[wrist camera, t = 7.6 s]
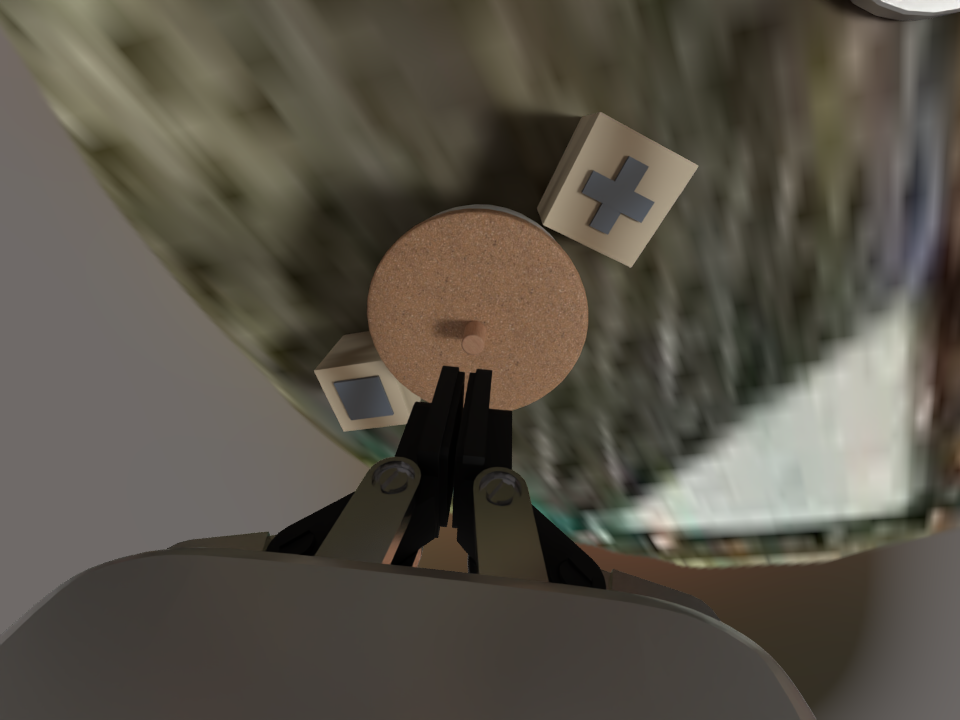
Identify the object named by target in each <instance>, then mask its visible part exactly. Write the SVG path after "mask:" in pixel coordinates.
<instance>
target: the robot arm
mask: <svg viewBox="0 0 960 720" xmlns="http://www.w3.org/2000/svg"><path fill="white" fill-rule="evenodd" d="M850 1H851V2H852V3H853V4H855V5H857V6H858V7H860V8H862V9H864V10H866V11H868V12H870V13H872V14H873V15H875V16H880V17H885V18H890V19H895V20H900V21H905V20H923V19H932V18H936V17H940V16H944V15H948V14H952V13H956V12H960V0H850ZM491 381H492V370H485V369H476V373H472V372H470V374H469V380H468V385H467V391H466V396H465V402H464V385H465V372H461V371H459V367H453V366H443V367H442V370H441V373H440V376H439V380H438V383H437V386H436V390H435V393H434V396H433V400H432V403H427V402H417V401H416V402H415V403H414V405H413V408H412V411H411V413H410V416H409V419H408V422H407V424H406V427H405V430H404V433H403V435H402V438H401V441H400V444H399V446H398V449H397V452H396V455H395V457H389V458H386V459H383V460H380V461H379V462H377V463H376V464H374V465H373V466H372V467H371V468H370V469H369V471H368V472H367V474H366V475H365V477H364V478H363V480H362V481H361V483H360V485H359V486H358V488H357V489H356V491H355V492H353V493H351V494H349V495H347V496H345V497H343V498H341V499H340V500H338V501H336V502H334V503H332V504H330V505H328V506H326V507H324V508H323V509H321V510H319V511H317V512H315V513H313V514H311V515H309V516H307V517H305V518H304V519H301V520H300V521H298V522H296V523H294V524H292V525H290V526H288V527H287V528H285V529H284V530H282V531H281V532H279V533H278V534H277V535H272V536H270V534H269V532H259V533H250V534H241V535H231V536H221V537H212V538H202V539H193V540H187V541H183V542H180V543H177V544H175V545H173V546H171V547H169V548H167V549H163V550H155V551H149V552H143V553H139V554H135V555H130V556H126V557H122V558H118V559H115V560H112V561H109V562H106V563H103V564H100V565H97V566H95V567H92V568H90V569H87V570H85V571H83V572H81V573H79V574H77V575H75V576H74V577H72V578H70V579H69V580H67V581H66V582H64V583H63V584H61V585H60V586H58V587H57V588H56V589H55V590H53V591H52V592H51V593H49V594H48V595H46V596H45V597H44V598H43V599H42V600H40V601H39V602H38V603H37V604H35V605H34V606H33V607H32V608H31V609H30V610H28V611H27V612H26V613H25V614H24V615H23V616H22V617H21V618H19V619H18V620H17V621H16V622H15V623H14V624H12V625H11V626H10V627H9V628H8V629H7V630H6V631H5V632H4V633H3V634H1V635H0V720H816V718H815V716H814V715H813V713H812V711H811V710H810V708H809V707H808V705H807V703H806V702H805V700H804V698H803V697H802V695H801V694H800V692H799V691H798V690H797V688H796V686H795V685H794V684H793V682H792V681H791V679H790V678H789V677H788V675H787V674H786V673H785V672H784V670H783V669H782V668H781V667H780V666H779V664H778V663H777V662H776V661H775V660H774V659H773V658H772V657H771V656H770V655H769V654H768V653H767V652H766V651H765V650H763V649H762V648H761V647H760V646H759V645H758V644H756V643H755V642H753V641H752V640H750V639H749V638H748V637H746V636H745V635H743V634H741V633H740V632H738V631H736V630H735V629H733V628H731V627H730V626H728V625H726V624H724V623H722V622H721V621H720V619H719V618H718V617H717V615H716V614H715V613H714V611H713V610H712V609H711V608H710V607H709V606H708V605H706V604H705V603H704V602H703V601H702V600H700V599H698V598H696V597H694V596H692V595H689V594H686V593H683V592H680V591H678V590H675V589H671V588H669V587H666V586H662V585H660V584H656V583H654V582H650V581H648V580H645V579H641V578H639V577H636V576H632V575H629V574H627V573H623V572H620V571H618V570H615V569H613V570H612V572H611V573H610V572H607V571H604V570H601V569H600V567H599V566H598V565H597V564H596V563H595V562H594V561H593V559H592V558H590V557H589V556H588V555H587V554H586V553H585V552H584V551H583V550H581V548H579V547H578V546H577V545H576V544H575V543H574V542H573V541H572V540H571V539H569V538H568V537H567V536H566V535H565V534H564V533H563V532H562V531H561V530H560V529H558V528H557V527H556V526H555V525H554V524H553V523H552V522H551V521H550V520H548V519H547V518H546V517H545V516H544V515H543V514H542V513H541V512H540V511H539V510H537V509H536V508H535V507H534V506H533V505H532V504H531V500H530V496H529V491H528V487H527V485H526V482H525V480H524V479H523V478H522V477H521V476H520V475H519V474H518V473H516V472H515V471H513V470H512V411H510V410H500V409H489V404H490V393H491ZM463 405H464V407H463ZM453 488H454V493H453ZM452 494H453V520H452V521H453V522H452V527H453V528H457V542H458V543H459V544H460V545H461V546H462V548H463V549H464V550H465V551H466V552H467V553H468V573H462V572H454V571H445V570H435V569H426V568H418V567H417V566H418V563H419V561H420V558H421V555H422V550H423V546H424V545H426V544H427V543H429V542H430V541H431V540H433V539H434V538H438V535H439V530H440V526H441V527H447V522H448V517H449V511H450V505H451V499H452Z"/></svg>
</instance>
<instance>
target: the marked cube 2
mask: <svg viewBox="0 0 960 720" xmlns="http://www.w3.org/2000/svg"><path fill="white" fill-rule="evenodd" d="M698 167H699V166H698V165H696V164H694V163H693V162H691V161H689V160H687V159H685V158H683V157H682V156H680V155H678V154H676V153H674V152H672V151H671V150H669V149H667V148H665V147H663V146H662V145H660V144H658V143H656V142H654V141H652V140H651V139H649V138H647V137H645V136H643V135H642V134H640V133H638V132H636V131H634V130H632V129H631V128H629V127H627V126H625V125H623V124H621V123H620V122H618V121H616V120H614V119H612V118H611V117H609V116H607V115H605V114H603V113H601V112H598V113H594V114H590V115H587V116H583V117H581V119H580V121H579V123H578V125H577V127H576V129H575V131H574V133H573V135H572V137H571V139H570V141H569V143H568V145H567V147H566V149H565V152H564V154H563V156H562V158H561V160H560V162H559V164H558V166H557V168H556V170H555V172H554V174H553V176H552V178H551V180H550V182H549V184H548V186H547V188H546V190H545V192H544V195H543V197H542V199H541V201H540V203H539V205H538V207H537V210H538V213H539V215H540V218H541V221H542V224H543V225H544V226H546V227H548V228H550V229H553V230H555V231H557V232H559V233H561V234H563V235H565V236H567V237H569V238H571V239H573V240H575V241H577V242H579V243H581V244H583V245H586V246H588V247H590V248H592V249H594V250H596V251H598V252H600V253H602V254H604V255H606V256H608V257H610V258H612V259H614V260H617V261H619V262H621V263H623V264H625V265H627V266H629V267H632V266H633V264H634V263H635V261H636V260H637V258H638V257H639V255H640V254H641V252H642V251H643V249H644V248H645V246H646V245H647V243H648V242H649V240H650V239H651V237H652V236H653V234H654V233H655V231H656V230H657V228H658V227H659V225H660V224H661V222H662V221H663V219H664V218H665V216H666V215H667V213H668V212H669V210H670V209H671V207H672V206H673V204H674V203H675V201H676V200H677V198H678V197H679V195H680V194H681V192H682V191H683V189H684V188H685V186H686V185H687V183H688V182H689V180H690V179H691V177H692V176H693V174H694V173H695V171H696V170H697V168H698Z"/></svg>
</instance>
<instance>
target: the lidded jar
mask: <svg viewBox="0 0 960 720" xmlns="http://www.w3.org/2000/svg"><path fill="white" fill-rule="evenodd" d="M367 318H368V325H369V331H370V334H371V337H372V340H373V343H374V346H375V348H376V350H377V352H378V354H379V356H380V358H381V360H382V361H383V363H384V364H385V365H386V367H387V368H388V370H389V371H390V372H391V373H392V374H393V376H394V377H395V378H396V379H397V380H398V381H399V382H400V383H401V384H402V385H404V386H405V387H406V388H407V389H409V390H410V391H411V392H412V393H414V394H416V395H417V396H419V397H420V398H422V399H423V400H425V401H427V402H430V403H432V400H433V396H434V393H435V390H436V386H437V383H438V380H439V376H440V373H441V370H442V367H443V366H453V367H459V371H461V372H465V385H464V402H465V396H466V391H467V385H468V380H469V374H470V372H472V373H476V369H485V370H492V381H491V393H490V404H489V409H500V410H510V411H512V410H515V409H517V408H520V407H523V406H526V405H528V404H530V403H532V402H534V401H536V400H538V399H540V398H541V397H543V396H544V395H546V394H547V393H549V392H550V391H552V390H553V389H554V388H555V387H556V386H557V385H558V384H559V383H560V382H561V381H563V380H564V378H565V377H566V376H567V374H568V373H569V372H570V371H571V369H572V368H573V366H574V365H575V363H576V361H577V359H578V358H579V356H580V354H581V351H582V348H583V345H584V342H585V339H586V334H587V328H588V304H587V299H586V293H585V289H584V287H583V284H582V281H581V279H580V276H579V273H578V271H577V270H576V268H575V266H574V265H573V263H572V261H571V259H570V258H569V256H568V255H567V253H566V252H565V251H564V250H563V249H562V248H561V246H560V245H559V244H558V243H557V242H556V241H555V239H554V238H553V237H552V236H551V235H550V233H548V232H547V231H546V230H545V229H544V228H542V227H541V226H540V225H539V224H538V223H536V222H535V221H533V220H531V219H530V218H528V217H526V216H524V215H523V214H521V213H519V212H516V211H513V210H511V209H508V208H505V207H500V206H495V205H484V204H473V205H466V206H459V207H455V208H451V209H448V210H445V211H442V212H440V213H438V214H436V215H434V216H432V217H430V218H428V219H426V220H425V221H423V222H421V223H419V224H417V225H415V226H414V227H413V228H411V229H410V230H409V231H407V232H406V233H405V234H404V235H402V236H401V237H400V238H399V239H398V240H397V241H396V242H395V243H394V244H393V245H392V246H391V248H390V249H389V250H388V251H387V252H386V253H385V255H384V256H383V258H382V260H381V261H380V263H379V264H378V266H377V268H376V270H375V273H374V275H373V278H372V281H371V283H370V288H369V293H368V298H367ZM463 407H464V405H463Z"/></svg>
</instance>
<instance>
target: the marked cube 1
mask: <svg viewBox="0 0 960 720" xmlns="http://www.w3.org/2000/svg"><path fill="white" fill-rule="evenodd" d="M314 372H315V374H316V376H317V378H318V380H319V382H320V384H321V386H322V388H323V390H324V392H325V394H326V396H327V398H328V400H329V402H330V405H331V407H332V409H333V411H334V413H335V415H336V417H337V419H338V421H339V423H340V425H341V427H342V429H343V431H352V430H360V429H369V428H377V427H385V426H393V425H402V424H407V422H408V419H409V416H410V413H411V411H412V408H413V405H414V403H415V402H416V401H417V402H420V400H421V398H420V397H419V396H417V395H416V394H414V393H412V392H411V391H410V390H409V389H407V388H406V387H405V386H404V385H402V384H401V383H400V382H399V381H398V380H397V379H396V378H395V377H394V376H393V374H392V373H391V372H390V371H389V370H388V368H387V367H386V365H385V364H384V363H383V361H382V360H381V358H380V356H379V354H378V352H377V350H376V348H375V346H374V343H373V340H372V337H371V334H370V331H366V332H360V333H353V334H347V335H343V336H342V337H341V339H340V340H339V341H338V342H337V343H336V345H335V346H334V347H333V348H332V349H331V351H330V352H329V353H328V354H327V355H326V357H325V358H324V359H323V360H322V361H321V363H320V364H319V365H318V366H317V367H316V369H315V370H314Z"/></svg>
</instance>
